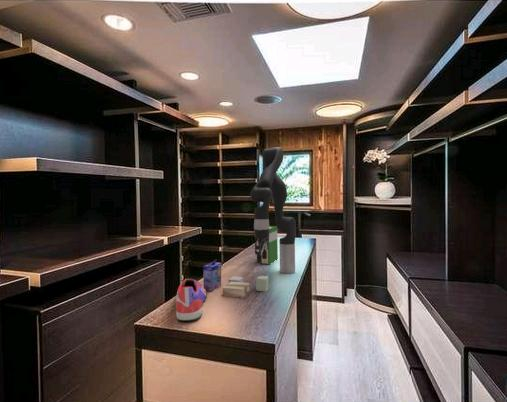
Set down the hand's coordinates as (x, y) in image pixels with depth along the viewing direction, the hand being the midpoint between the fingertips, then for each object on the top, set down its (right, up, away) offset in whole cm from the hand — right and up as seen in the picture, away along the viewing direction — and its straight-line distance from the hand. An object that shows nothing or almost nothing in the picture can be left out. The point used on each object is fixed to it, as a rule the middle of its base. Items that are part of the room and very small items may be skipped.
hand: (261, 260), depth 143 cm
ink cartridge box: (-25, -15, +4) cm, 29 cm away
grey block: (-13, -15, +7) cm, 21 cm away
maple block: (-12, -15, -4) cm, 20 cm away
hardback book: (+6, -13, +58) cm, 60 cm away
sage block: (0, -14, 0) cm, 14 cm away
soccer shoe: (-31, -16, -19) cm, 40 cm away
